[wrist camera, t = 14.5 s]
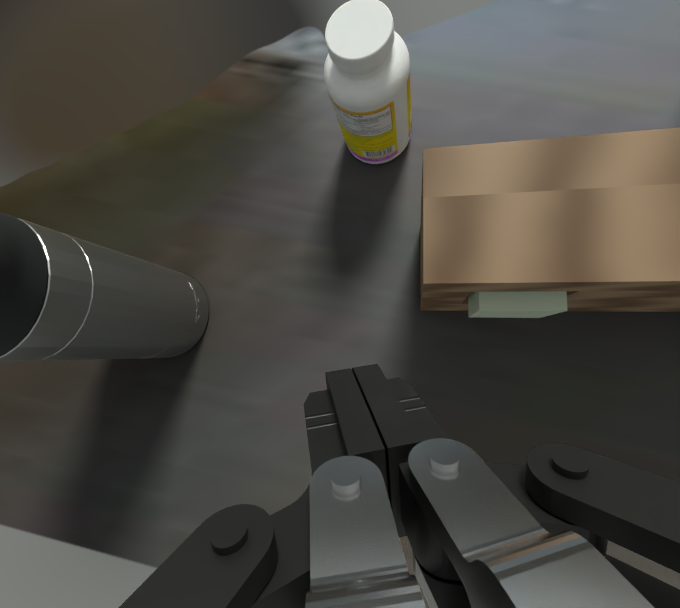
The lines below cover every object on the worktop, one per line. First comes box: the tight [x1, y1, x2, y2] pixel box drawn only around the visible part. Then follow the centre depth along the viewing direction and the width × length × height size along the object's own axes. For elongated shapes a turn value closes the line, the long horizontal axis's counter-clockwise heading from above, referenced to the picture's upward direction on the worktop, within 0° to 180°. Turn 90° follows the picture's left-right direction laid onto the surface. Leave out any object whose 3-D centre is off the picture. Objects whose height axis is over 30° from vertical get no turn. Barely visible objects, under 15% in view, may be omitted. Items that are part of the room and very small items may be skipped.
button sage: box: [468, 291, 567, 318], centre depth 25 cm, size 5×5×5 cm
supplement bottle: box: [324, 0, 412, 164], centre depth 31 cm, size 7×7×13 cm
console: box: [420, 128, 680, 312], centre depth 25 cm, size 28×8×14 cm, turn 88°
